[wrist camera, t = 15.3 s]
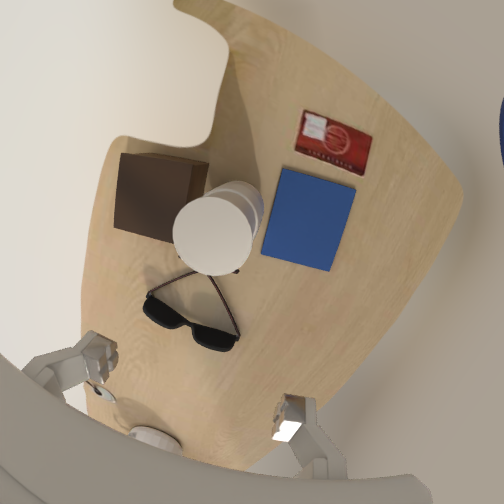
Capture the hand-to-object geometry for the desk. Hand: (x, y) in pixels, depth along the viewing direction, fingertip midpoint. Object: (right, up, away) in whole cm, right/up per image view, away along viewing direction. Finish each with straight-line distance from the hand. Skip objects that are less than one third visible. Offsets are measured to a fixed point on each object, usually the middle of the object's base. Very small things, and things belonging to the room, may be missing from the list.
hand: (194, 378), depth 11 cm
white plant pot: (-27, -50, +51) cm, 77 cm away
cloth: (+10, +10, +24) cm, 28 cm away
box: (-8, +15, +25) cm, 30 cm away
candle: (+1, +12, +25) cm, 28 cm away
